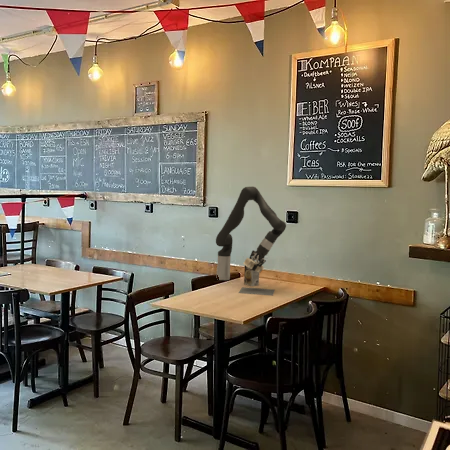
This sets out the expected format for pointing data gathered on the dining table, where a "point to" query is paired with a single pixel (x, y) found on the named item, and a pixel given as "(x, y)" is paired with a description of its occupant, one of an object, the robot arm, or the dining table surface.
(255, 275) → the coffee box
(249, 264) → the block
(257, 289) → the mat
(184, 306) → the dining table surface
